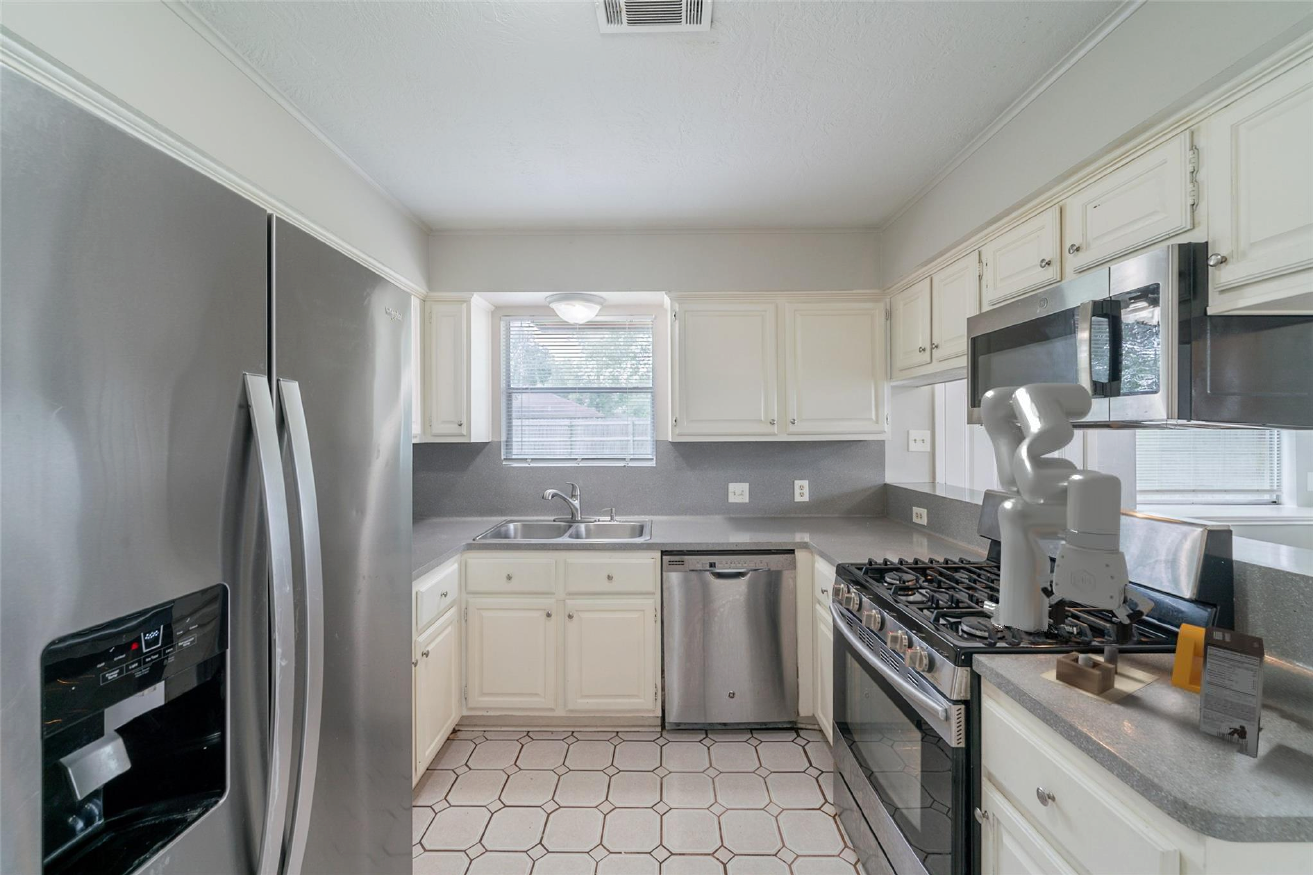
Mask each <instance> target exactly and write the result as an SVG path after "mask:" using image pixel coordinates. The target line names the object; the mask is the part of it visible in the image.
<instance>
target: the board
mask: <svg viewBox="0 0 1313 875" xmlns="http://www.w3.org/2000/svg"><path fill="white" fill-rule="evenodd" d="M1093 658H1094V659H1097V660H1100V661H1102V662H1105V663H1108V664H1111V665H1114V666H1115V683H1114V688H1112V689H1110V690H1108V691H1106V692H1104V693H1102V694H1100V695H1098V696H1096V695H1093V694H1091V693H1088V692H1086V691H1083V690H1081V689H1078V688H1076V687H1073V686H1071V685H1068V684H1066V683H1063V682H1061V681H1058V680H1056V667H1055V668H1052V669H1051V670H1048V671H1045V672H1044V673H1042V674H1039V675H1038V677H1040V678H1043V679H1045V680H1048V681H1050V682H1053V683H1055V684H1057V685H1060V686H1063V687H1064V688H1068V689H1070V690H1072V691H1075V692H1077V693H1080V694H1083V695H1085V696H1087V697H1090V698H1091V699H1092V698H1093V699H1095V700H1097V701H1099V702H1102V703H1104V704H1107V705H1109V706H1110V705H1112V704H1114V703H1116V702H1118V701H1119V700H1121V699H1124V698H1125V697H1127V696H1129V695H1130V694H1133V693H1134V692H1136V691H1138V690H1140V689H1141V688H1143V687H1146V686H1148V685H1149V684H1151V683H1153V682H1155V681H1157V680H1159V679H1160V678H1161V677H1160V676H1158V675H1153V674H1152V673H1148V672H1145V671H1142V670H1139V669H1137V668H1134V667H1131V666H1127V665H1125V664H1123V663H1119V649H1118V648H1117V647H1114V646H1109V645H1105V646H1104V654H1103V657H1101V656H1098V655H1096V654H1092V653H1088V654H1082V655H1079V664H1081V665H1084V666H1086V667H1089V668H1093Z"/></svg>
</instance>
